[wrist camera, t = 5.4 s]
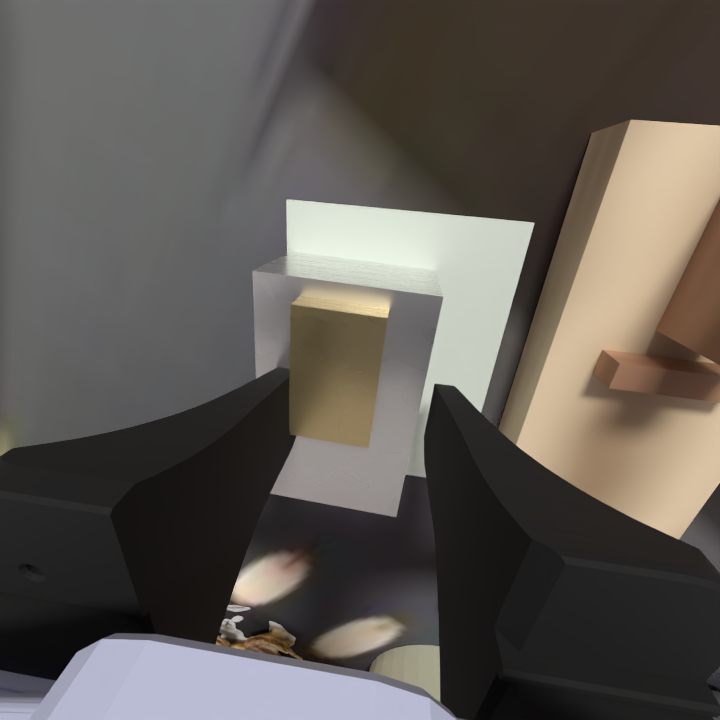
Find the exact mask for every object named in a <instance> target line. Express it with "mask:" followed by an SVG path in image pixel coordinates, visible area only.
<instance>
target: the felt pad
mask: <svg viewBox="0 0 720 720" xmlns="http://www.w3.org/2000/svg"><path fill="white" fill-rule="evenodd" d="M533 227H534V223H532V222H522V221H512V220H501V219H491V218H480V217H470V216H459V215H448V214H438V213H427V212H417V211H406V210H395V209H385V208H374V207H364V206H353V205H343V204H332V203H321V202H311V201H300V200H287V254H289V253H291V252H301V253H308V254H316V255H324V256H331V257H339V258H347V259H354V260H362V261H369V262H377V263H385V264H392V265H400V266H408V267H415V268H423V269H431V270H435V271H436V274H437V277H438V281H439V284H440V287H441V290H442V294H443V301H442V306H441V311H440V315H439V320H438V325H437V329H436V334H435V339H434V343H433V348H432V353H431V357H430V362H429V367H428V371H427V376H426V381H425V385H424V390H423V395H422V399H421V404H420V409H419V413H418V418H417V423H416V427H415V432H414V437H413V441H412V446H411V451H410V455H409V460H408V465H407V469H406V475H412V476H418V477H425V478H426V473H425V466H424V433H425V428H426V423H427V419H428V414H429V409H430V404H431V399H432V394H433V389H434V384H443V385H451V386H455V387H456V388H457V389H458V390H459V391H460V392H461V393H462V394H463V395H464V396H465V397H466V398H467V399H468V400H469V401H470V402H471V403H472V404H473V405H474V407H475V408H476V409H477V410H478V411H479V412H480V413H481V411H482V407H483V404H484V400H485V397H486V393H487V390H488V386H489V383H490V379H491V376H492V372H493V368H494V365H495V361H496V358H497V354H498V351H499V347H500V344H501V340H502V337H503V333H504V329H505V326H506V322H507V319H508V315H509V312H510V308H511V305H512V301H513V297H514V294H515V290H516V287H517V283H518V280H519V276H520V273H521V269H522V266H523V262H524V258H525V255H526V251H527V248H528V244H529V241H530V237H531V234H532V230H533Z"/></svg>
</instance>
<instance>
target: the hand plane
mask: <svg viewBox="0 0 720 720" xmlns="http://www.w3.org/2000/svg"><path fill="white" fill-rule="evenodd" d="M498 430H499V431H500V432H501V433H502V434H504V435H505V436H506V437H507V438H508V439H509V440H510V441H512V442H513V443H514V444H515V445H516V446H518V447H519V448H520V449H521V450H523V451H524V452H525V453H527V454H528V455H529V456H531V457H532V458H533V459H535V460H536V461H538V462H539V463H540V464H542V465H543V466H544V467H546V468H547V469H549V470H550V471H552V472H553V473H555V474H556V475H558V476H560V477H561V478H563V479H564V480H566V481H567V482H569V483H571V484H572V485H574V486H575V487H577V488H579V489H580V490H582V491H584V492H585V493H587V494H589V495H591V496H592V497H594V498H596V499H598V500H599V501H601V502H603V503H605V504H607V505H609V506H611V507H613V508H614V509H616V510H618V511H620V512H622V513H624V514H626V515H628V516H630V517H632V518H634V519H635V520H637V521H640V522H642V523H644V524H646V525H648V526H650V527H653V528H655V529H657V530H659V531H661V532H663V533H665V534H668V535H670V536H672V537H674V538H676V539H678V540H679V538H680V537H681V536H682V534H683V533H684V532H685V530H686V529H687V527H688V526H689V525H690V523H691V522H692V520H693V519H694V518H695V516H696V515H697V514H698V512H699V511H700V509H701V508H702V507H703V505H704V504H705V502H706V501H707V500H708V498H709V497H710V495H711V494H712V493H713V491H714V490H715V489H716V487H717V486H718V484H719V483H720V126H714V125H699V124H685V123H670V122H655V121H641V120H629V121H626V122H623V123H620V124H617V125H614V126H611V127H608V128H606V129H603V130H600V131H597V132H594V133H592V134H591V137H590V140H589V143H588V146H587V150H586V153H585V156H584V159H583V162H582V165H581V169H580V172H579V175H578V178H577V181H576V184H575V188H574V191H573V194H572V197H571V200H570V203H569V207H568V210H567V213H566V216H565V219H564V222H563V226H562V229H561V232H560V235H559V238H558V241H557V245H556V248H555V251H554V254H553V257H552V260H551V264H550V267H549V270H548V273H547V276H546V279H545V283H544V286H543V289H542V292H541V295H540V298H539V302H538V305H537V308H536V311H535V314H534V317H533V321H532V324H531V327H530V330H529V333H528V336H527V340H526V343H525V346H524V349H523V352H522V355H521V359H520V362H519V365H518V368H517V371H516V374H515V378H514V381H513V384H512V387H511V390H510V393H509V397H508V400H507V403H506V406H505V409H504V412H503V416H502V419H501V422H500V425H499V428H498Z"/></svg>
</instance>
